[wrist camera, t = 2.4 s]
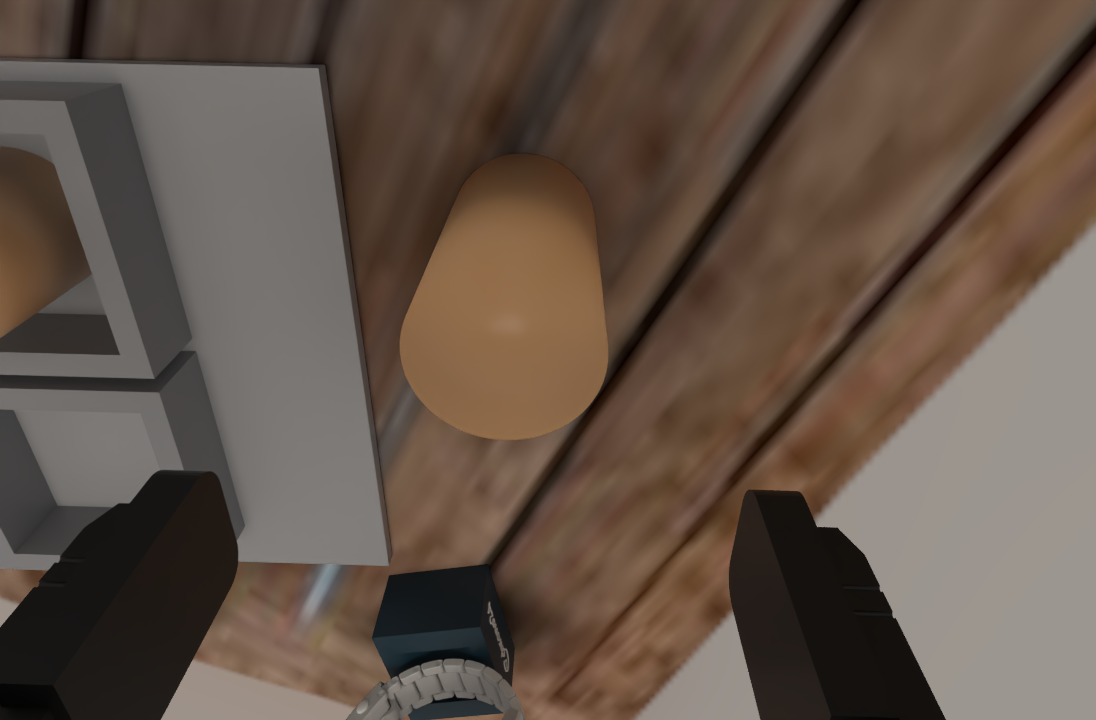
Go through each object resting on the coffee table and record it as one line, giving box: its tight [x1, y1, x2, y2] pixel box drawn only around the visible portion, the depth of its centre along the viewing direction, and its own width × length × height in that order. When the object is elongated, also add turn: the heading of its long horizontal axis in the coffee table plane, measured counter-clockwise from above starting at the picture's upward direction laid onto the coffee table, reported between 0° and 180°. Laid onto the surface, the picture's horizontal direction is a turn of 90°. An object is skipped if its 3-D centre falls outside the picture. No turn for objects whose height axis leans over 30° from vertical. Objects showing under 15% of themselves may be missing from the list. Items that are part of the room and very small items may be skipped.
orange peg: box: [400, 153, 608, 440], centre depth 18 cm, size 4×4×8 cm
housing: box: [0, 58, 392, 570], centre depth 21 cm, size 19×15×9 cm
